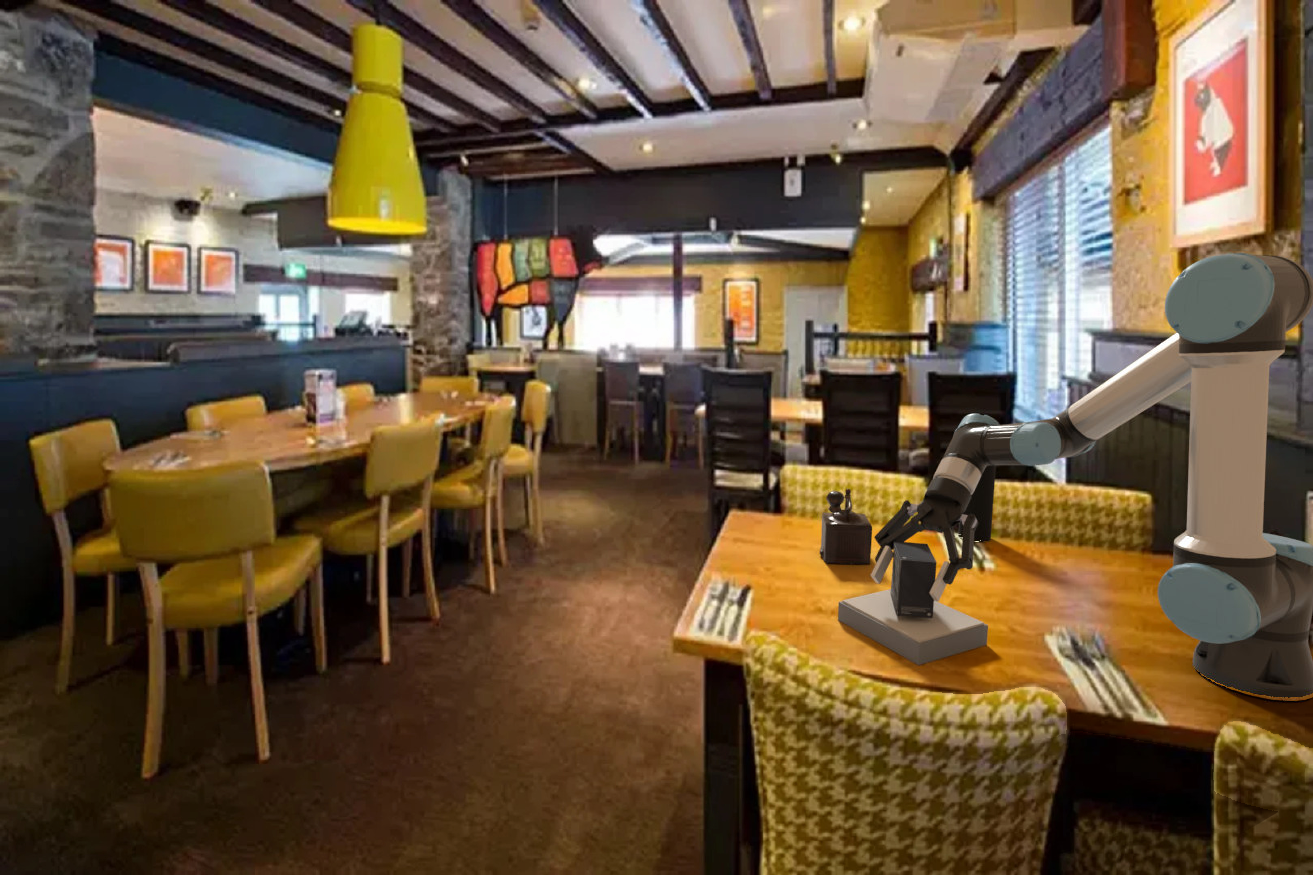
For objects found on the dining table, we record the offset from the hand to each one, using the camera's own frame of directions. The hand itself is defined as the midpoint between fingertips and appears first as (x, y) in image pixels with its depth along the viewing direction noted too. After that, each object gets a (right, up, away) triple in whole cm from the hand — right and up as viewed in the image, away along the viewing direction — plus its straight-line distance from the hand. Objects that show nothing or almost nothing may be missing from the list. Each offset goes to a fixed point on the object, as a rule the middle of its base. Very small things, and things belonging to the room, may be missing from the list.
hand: (903, 588), depth 129 cm
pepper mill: (0, -2, +41) cm, 41 cm away
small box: (+2, -4, +3) cm, 5 cm away
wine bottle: (+37, +1, +57) cm, 68 cm away
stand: (+2, -9, +3) cm, 9 cm away
